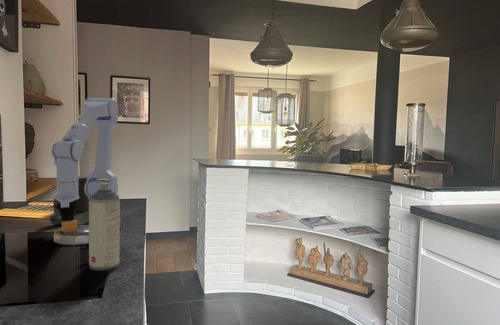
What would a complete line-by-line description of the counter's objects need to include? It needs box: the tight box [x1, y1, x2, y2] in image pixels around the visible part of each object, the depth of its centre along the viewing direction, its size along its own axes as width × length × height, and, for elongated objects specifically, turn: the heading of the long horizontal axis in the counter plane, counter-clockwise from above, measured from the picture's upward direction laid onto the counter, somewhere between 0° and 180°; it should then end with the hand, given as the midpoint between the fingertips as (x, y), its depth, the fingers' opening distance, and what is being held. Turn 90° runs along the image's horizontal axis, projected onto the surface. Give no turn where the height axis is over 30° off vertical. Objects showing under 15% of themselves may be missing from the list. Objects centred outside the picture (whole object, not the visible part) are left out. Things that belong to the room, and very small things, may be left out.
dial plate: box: [53, 224, 89, 246], centre depth 106 cm, size 15×15×3 cm
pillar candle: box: [74, 175, 90, 213], centre depth 147 cm, size 10×10×15 cm
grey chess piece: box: [48, 194, 62, 226], centre depth 120 cm, size 6×6×12 cm
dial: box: [61, 219, 89, 236], centre depth 105 cm, size 10×9×5 cm
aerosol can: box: [88, 183, 121, 272], centre depth 86 cm, size 7×7×20 cm
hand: (67, 226), depth 106 cm, fingers closed
